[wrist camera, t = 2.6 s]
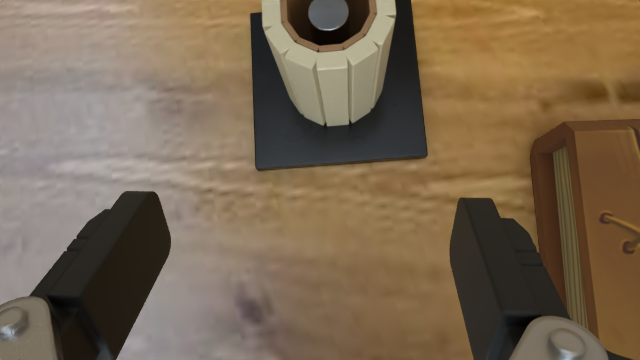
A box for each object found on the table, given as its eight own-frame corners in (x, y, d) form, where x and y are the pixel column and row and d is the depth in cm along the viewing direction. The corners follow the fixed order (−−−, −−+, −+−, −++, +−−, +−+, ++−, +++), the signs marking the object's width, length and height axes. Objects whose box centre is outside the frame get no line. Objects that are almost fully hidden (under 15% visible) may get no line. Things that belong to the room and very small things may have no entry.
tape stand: (258, 170, 28) (215, 132, 19) (252, 19, 30) (212, -78, 21) (425, 158, 27) (460, 112, 19) (409, 4, 29) (433, -103, 21)
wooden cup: (290, 129, 28) (264, 75, 19) (286, 41, 29) (259, -46, 20) (386, 122, 27) (401, 62, 19) (378, 33, 28) (389, -60, 20)
